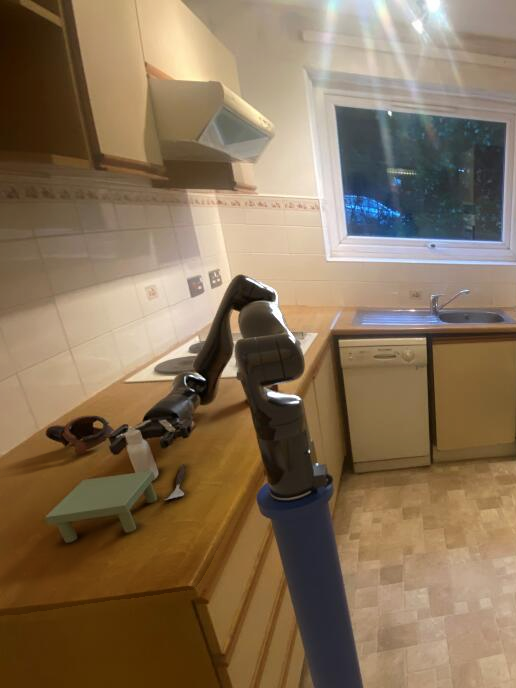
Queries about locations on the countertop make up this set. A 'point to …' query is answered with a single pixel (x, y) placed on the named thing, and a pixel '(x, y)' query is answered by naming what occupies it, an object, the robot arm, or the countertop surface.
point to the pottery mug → (81, 433)
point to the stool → (102, 501)
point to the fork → (177, 491)
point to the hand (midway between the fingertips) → (138, 447)
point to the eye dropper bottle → (140, 452)
